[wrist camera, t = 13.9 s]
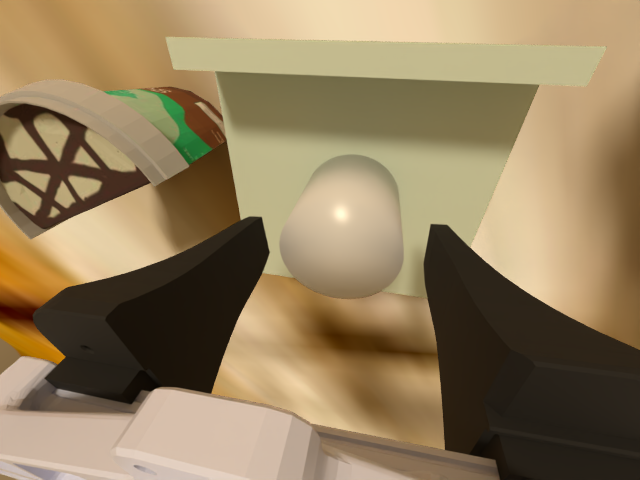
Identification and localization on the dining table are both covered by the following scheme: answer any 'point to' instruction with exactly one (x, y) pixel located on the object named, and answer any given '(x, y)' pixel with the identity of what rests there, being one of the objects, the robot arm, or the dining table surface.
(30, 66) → the dining table surface
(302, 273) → the cream rounded piece
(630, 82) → the dining table surface
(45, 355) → the dining table surface
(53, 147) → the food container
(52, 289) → the dining table surface
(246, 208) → the lid
